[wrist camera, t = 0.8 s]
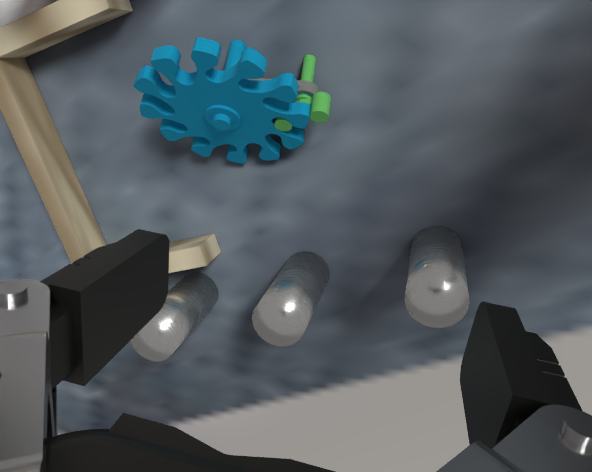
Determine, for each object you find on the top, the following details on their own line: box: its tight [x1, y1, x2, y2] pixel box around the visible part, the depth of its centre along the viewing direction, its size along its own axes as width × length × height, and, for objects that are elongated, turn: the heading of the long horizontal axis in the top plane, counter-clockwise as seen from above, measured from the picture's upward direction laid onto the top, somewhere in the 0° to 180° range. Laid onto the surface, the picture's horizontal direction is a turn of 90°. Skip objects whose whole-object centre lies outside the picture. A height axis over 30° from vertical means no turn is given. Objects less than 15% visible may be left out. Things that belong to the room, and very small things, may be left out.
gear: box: [134, 37, 331, 164], centre depth 28 cm, size 11×6×10 cm
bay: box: [0, 0, 221, 273], centre depth 34 cm, size 11×18×2 cm, turn 17°
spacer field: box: [130, 227, 469, 362], centre depth 28 cm, size 21×27×7 cm
